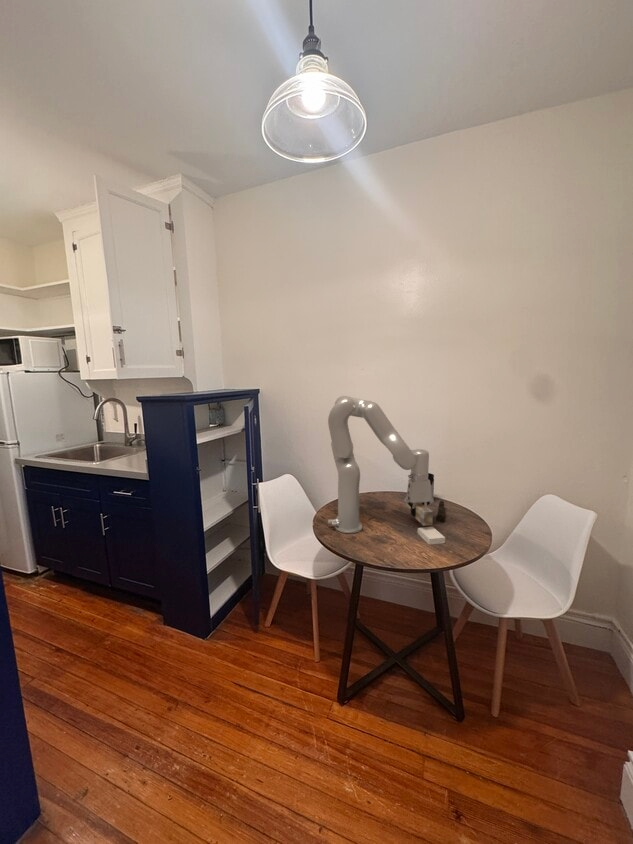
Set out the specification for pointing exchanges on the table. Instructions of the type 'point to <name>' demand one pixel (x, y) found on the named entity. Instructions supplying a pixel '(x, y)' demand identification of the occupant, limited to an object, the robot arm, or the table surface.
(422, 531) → the white and teal block
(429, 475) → the glass holder
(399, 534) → the table surface
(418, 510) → the grey-capped beige stick
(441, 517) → the hand tool
